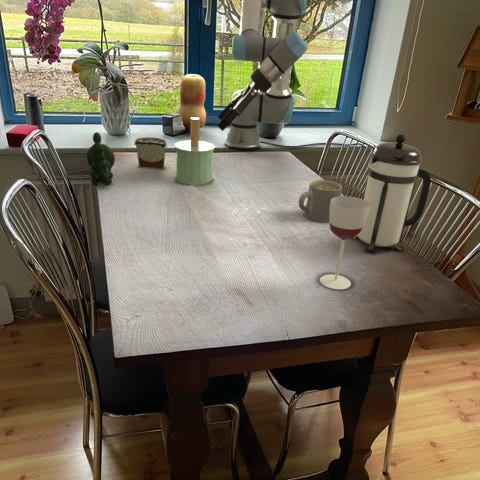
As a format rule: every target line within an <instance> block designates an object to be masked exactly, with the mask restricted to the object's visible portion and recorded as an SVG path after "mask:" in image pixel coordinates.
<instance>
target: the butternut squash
mask: <svg viewBox="0 0 480 480" xmlns="http://www.w3.org/2000/svg"><path fill="white" fill-rule="evenodd" d="M179 96H180V99H179V100H180V107H179V109H178V113H177V115H178V114H181V115H182V121H183V125H184V127H185V129H186V130H185V132H191V118H193V117H195V118H199V119H200V122H199V130H201V129H202V128H204V126H205V124H206V122H207V114H206V109H205V105H204V104H205V101H206V80H205V79H204V77H203V76H201V75H200V74H195V73H193V74H192V73H189V74H188V73H187V74H185V75H184V76H183V77H182V78H181V81H180V87H179Z"/></svg>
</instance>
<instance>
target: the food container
mask: <svg viewBox="0 0 480 480" xmlns="http://www.w3.org/2000/svg"><path fill="white" fill-rule="evenodd" d="M133 145H134V146H135V148H136V155H137V162H138V167H139V168H146V169H155V170H164V169H165V160H166V149H168V143H167V141H166V140H165V139H163V138H160V137H152V136H151V137H150V136H146V137H139V138H136V139H134V144H133Z"/></svg>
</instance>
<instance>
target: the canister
mask: <svg viewBox="0 0 480 480" xmlns="http://www.w3.org/2000/svg"><path fill="white" fill-rule="evenodd" d="M175 152H176V153H175V154H176V155H175V156H176V157H175V158H176V159H175V160H176V161H175V162H176V181H177V182H178V183H180V184H183V185H186V186H191V185H203V184H207V183H211V182H212V180H213V161H214V150H212V151H210V152H203V153H193V152H185V151H181V150H178V149H176V148H175Z"/></svg>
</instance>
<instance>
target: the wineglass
mask: <svg viewBox="0 0 480 480" xmlns="http://www.w3.org/2000/svg"><path fill="white" fill-rule="evenodd" d="M369 208H370V203H369V202H368V201H366V200H363V198H360V197H357V196H356V197H355V196H347V195H341V196H339V197H334V198H332V199H331V203H330V213H329V220H330V222H329V229H330V231H331V233H332V234H333V235H334V236H336V237H338V238H340V239H341V242H340V245H339V252H338V258H337V263H336V268H335V274H324V275H322V276H321V277H320V278H319V282H320V283H321V285H323V286H325V287H327V288H329V289H333V290H345V289H346V290H347V289H349V288H350V287H351V286H352V282H351V280H350V279H348V278H347V277H346V276H343V275H340V268H341V264H342V263H341V262H342V259H343V252H344V247H345V243H346V240H348V239H352V237H357V236H358V234H359V233H360V232H361V230H362V228H363V226H364V223H365V221H366V218H367V215H368V212H369Z"/></svg>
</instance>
